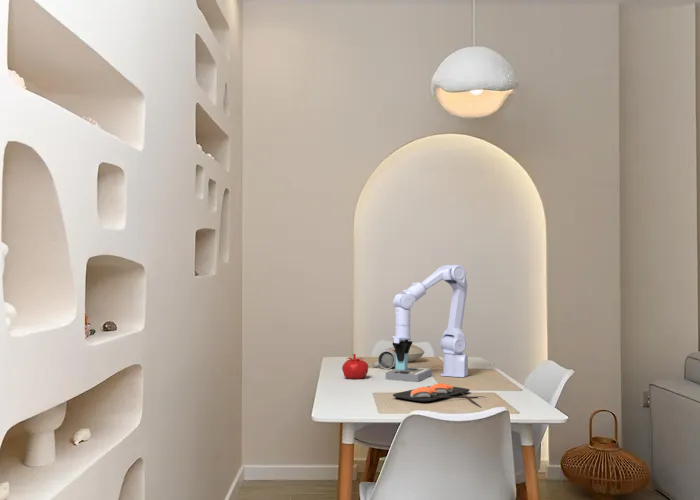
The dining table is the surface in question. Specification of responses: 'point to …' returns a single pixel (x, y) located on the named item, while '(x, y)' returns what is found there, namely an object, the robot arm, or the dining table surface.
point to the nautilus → (413, 353)
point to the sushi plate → (434, 393)
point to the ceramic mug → (386, 360)
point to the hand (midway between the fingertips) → (402, 360)
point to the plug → (402, 363)
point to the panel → (408, 374)
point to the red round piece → (355, 368)
